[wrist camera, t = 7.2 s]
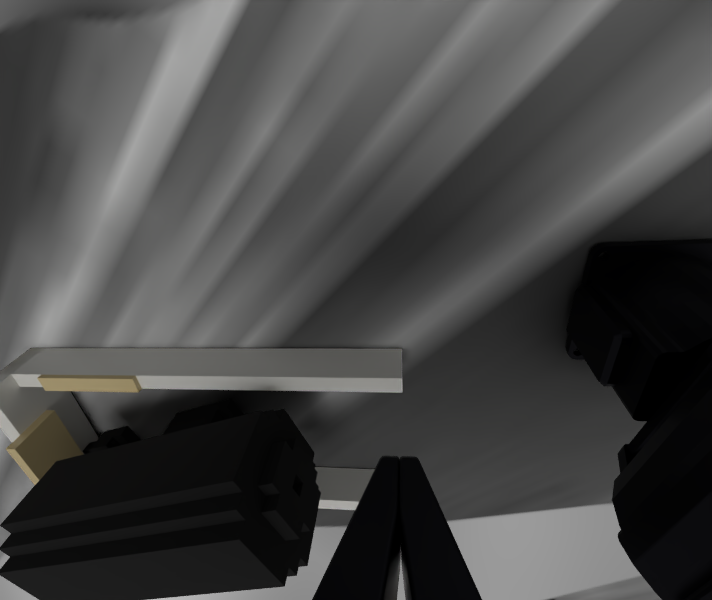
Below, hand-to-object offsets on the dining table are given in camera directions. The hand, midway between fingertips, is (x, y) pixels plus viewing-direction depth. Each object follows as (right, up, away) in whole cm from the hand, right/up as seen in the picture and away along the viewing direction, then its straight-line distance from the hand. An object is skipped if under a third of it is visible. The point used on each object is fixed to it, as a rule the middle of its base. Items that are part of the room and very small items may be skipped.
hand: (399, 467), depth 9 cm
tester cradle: (-10, -4, +18) cm, 21 cm away
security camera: (-12, -4, +18) cm, 22 cm away
